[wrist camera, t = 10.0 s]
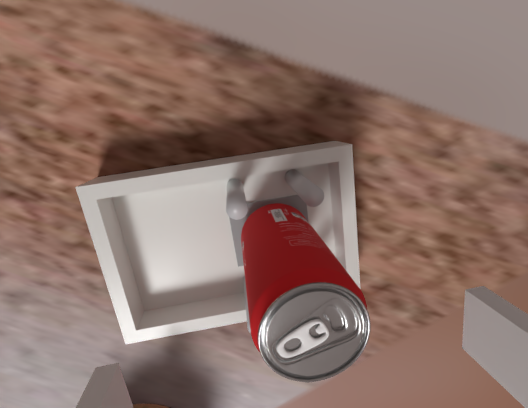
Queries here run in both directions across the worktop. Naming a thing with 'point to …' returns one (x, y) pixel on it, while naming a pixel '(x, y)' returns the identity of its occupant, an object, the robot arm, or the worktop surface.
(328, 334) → the beverage can
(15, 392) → the worktop surface
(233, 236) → the tray
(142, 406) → the mug
